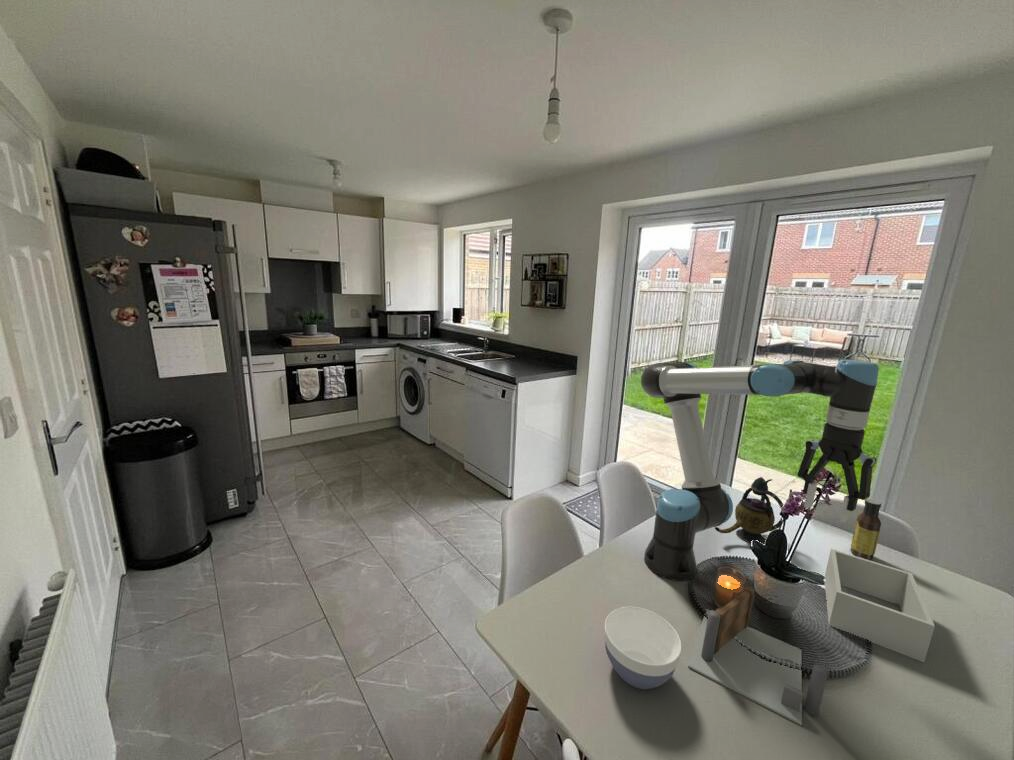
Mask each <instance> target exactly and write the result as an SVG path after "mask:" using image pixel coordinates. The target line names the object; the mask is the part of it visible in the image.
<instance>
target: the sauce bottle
mask: <svg viewBox="0 0 1014 760" xmlns="http://www.w3.org/2000/svg"><path fill="white" fill-rule="evenodd" d="M864 500H865V501H864V507H863V510H862V513H860V514H859V515H858V516H857V518H856V521H855V525H854V530H853V535H852V538H851V544H850V549H849V551H850V552H851V553H852V555H853V556H857V557H860V558H863V559H867V560H870V561H872V560H873V559H874V555H875V554H876V551H877V545H878V542H879V536H880V532H881V526H882V523H881V519H880V518H879V514H880V509H881V508H882V502H880V501H878V500H876V499H873V498H866V499H864Z"/></svg>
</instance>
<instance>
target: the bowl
mask: <svg viewBox="0 0 1014 760" xmlns="http://www.w3.org/2000/svg"><path fill="white" fill-rule="evenodd" d="M603 635H604V644H605V645H604V647H605V652H606V655H607V658H608V660H609V661H610V664H611V666H612V668H613V669H614V670H615V672H616V673H617V674H618V675H619V676H620V678H621V679H622V680H623V681H624V682H625V683H626V684H628V685H629V686H632V687H634V688H636V689H640V690H650V689H655V688H657V687H660V686H662V685H663V684H666V682H667V681H669V680H670V679H671V678H672V677H673V675H674V673H675V670H676V668H677V667H678V664H679V662H680V658H681V653H682V647H683V646H682V642H681V638H680V636H679V633H678V632H677V631H676V629H675V628H674V627H673V625H672V624H670V622H668V621H667V619H665V618H664V617H662V616H660V615H659V614H658V613H656V612H653V611H651V610H649V609H645V608H642V607H638V606H622V607H618V608H616V609H613V610H611V612H610V613H609V614H608V615H607V617H606V618H605V621H604V634H603Z"/></svg>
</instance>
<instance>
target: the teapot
mask: <svg viewBox="0 0 1014 760" xmlns="http://www.w3.org/2000/svg"><path fill="white" fill-rule="evenodd" d="M772 481H773V479H771V478H770V479H767V480H766V479H764V477H762V476H760V477H757V478H756V479H754V481H753V482H752V483H751V485H750V487H749V488H748V489H746V490H745V491H744V493H743V495H742V497H741V500H740V501H739V502H738V504H737V505H736V506H735V509H734V512H735V514H734V516H735V520H736V522H735V523H734V524H733V525H732V526H730V527H727V528H723V529H721V528H719V526H717V527H714V530H715V531H716V532H718V533H719V534H730V533H732V532H734V531H736V532H735V535H736V536H737V538H738V539H740V540H742V541H743V542H746V543H748V544H751V541H752V540H758V541H759V542H761V543H763V544H762V545H764V544H765V543H766V539H765V537H764V536H763V534H766V533H768V532H773V531H775V530H777V529H779V528H781V527H782V526H781V524H782V518H781V517H780V519H779V521H777V523H775V520H776V519H775V512H774V509H773V507H772V502H771V501H770V498H769V496H770V497H771V498H772V499H774V500H775V501H776V502H777V504H778V506H779V508H780V509H781V507H782V506H783V505H784V503H783V501H782V500H781V499H780V498H779V497H778V496H777V495H776V494H775V493H774V492H772V491H770V490H769V486H768V483H769V482H772ZM750 493H753V494H754V495H756V496H760V499H759V498H751V497H749V494H750ZM765 501H766V502H765ZM739 528H740V529H739ZM764 542H765V543H764Z"/></svg>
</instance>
